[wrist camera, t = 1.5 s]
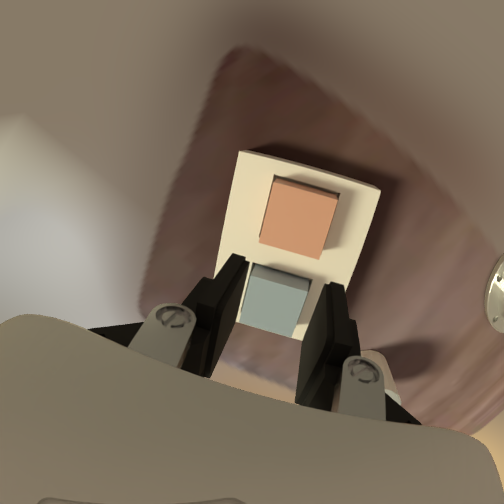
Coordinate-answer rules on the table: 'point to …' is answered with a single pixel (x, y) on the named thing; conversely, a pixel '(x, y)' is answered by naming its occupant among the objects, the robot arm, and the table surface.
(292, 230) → the key terracotta
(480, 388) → the table surface
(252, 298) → the key slate
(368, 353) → the shot glass
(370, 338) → the table surface
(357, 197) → the board
